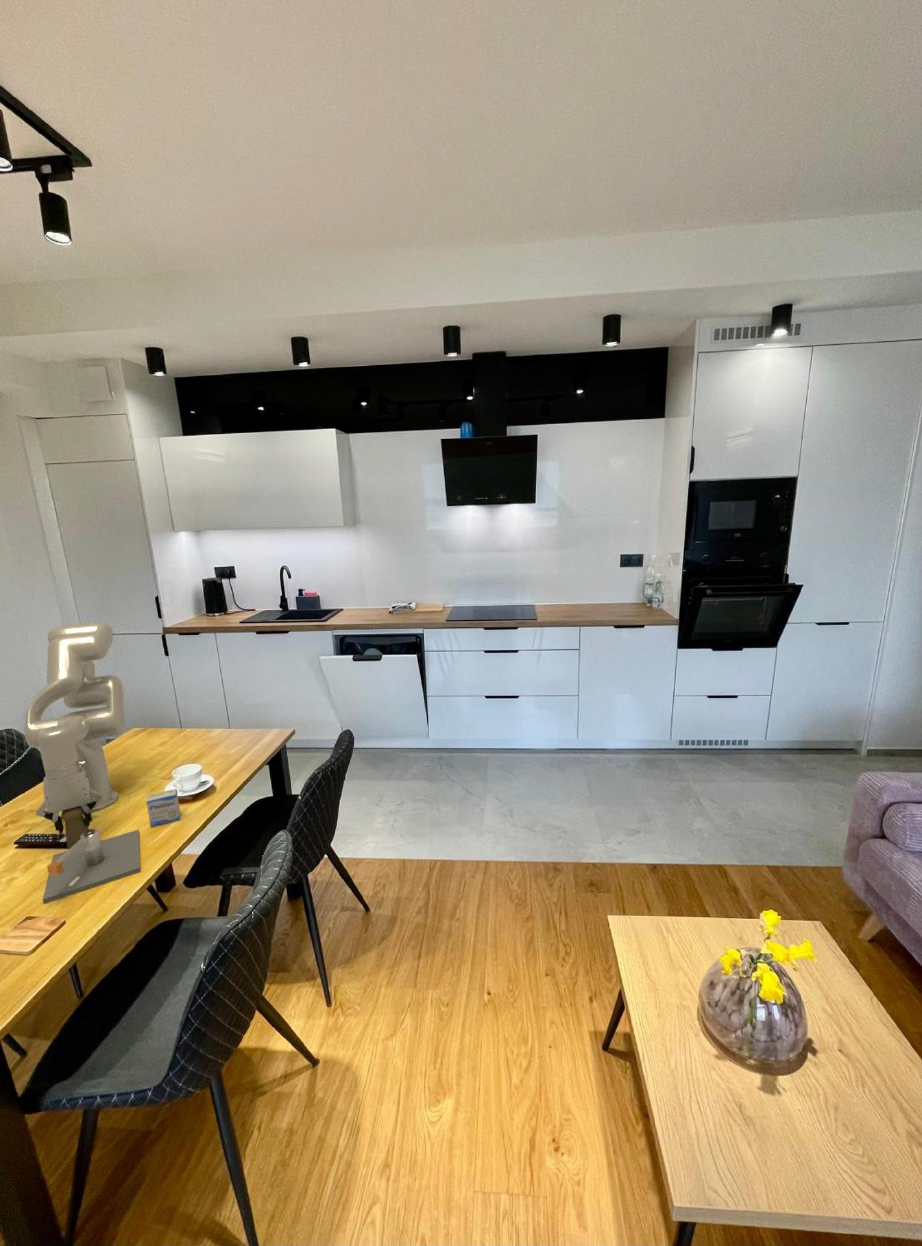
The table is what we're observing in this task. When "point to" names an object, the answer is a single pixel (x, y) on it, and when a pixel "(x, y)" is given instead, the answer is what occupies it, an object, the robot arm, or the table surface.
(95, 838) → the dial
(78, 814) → the cork
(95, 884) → the dial plate
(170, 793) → the medicine box
